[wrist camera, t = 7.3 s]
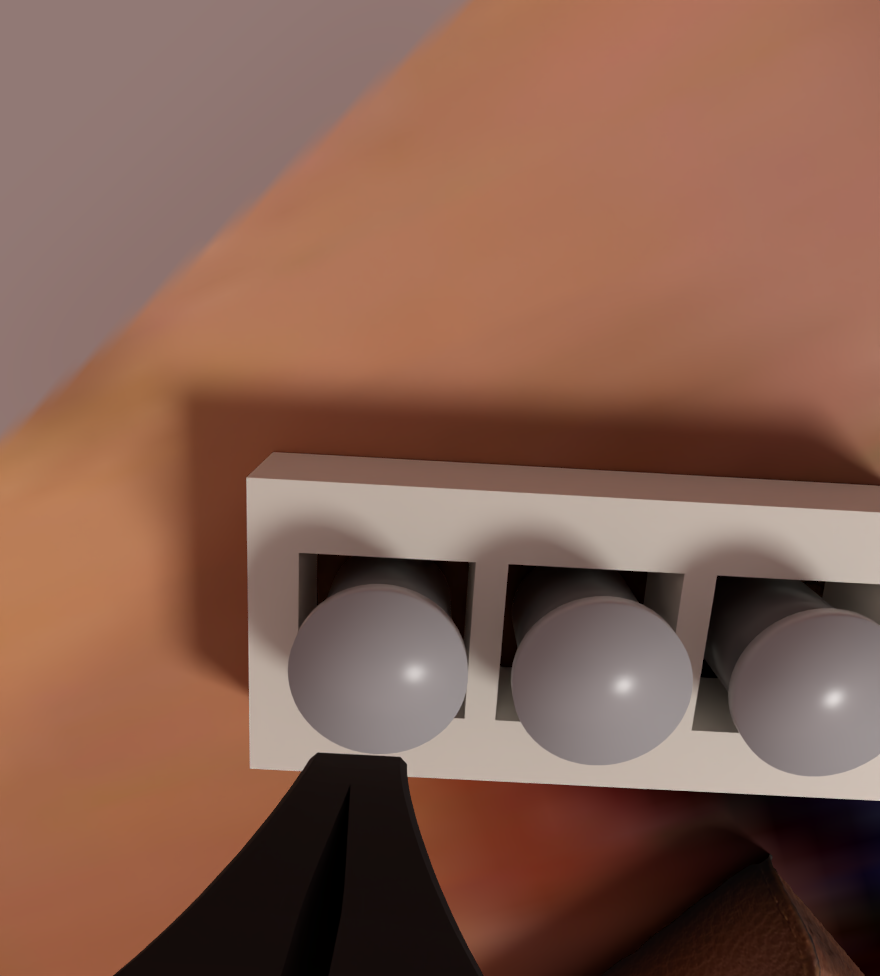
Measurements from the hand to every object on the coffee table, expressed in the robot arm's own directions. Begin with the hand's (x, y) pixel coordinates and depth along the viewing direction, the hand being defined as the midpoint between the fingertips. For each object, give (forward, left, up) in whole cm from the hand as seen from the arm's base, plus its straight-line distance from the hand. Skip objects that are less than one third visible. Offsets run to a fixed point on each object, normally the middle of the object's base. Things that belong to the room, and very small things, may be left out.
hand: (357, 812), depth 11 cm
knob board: (-4, 0, -8) cm, 9 cm away
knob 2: (-9, 0, -8) cm, 12 cm away
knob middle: (-4, 0, -8) cm, 9 cm away
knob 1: (0, 0, -8) cm, 8 cm away
